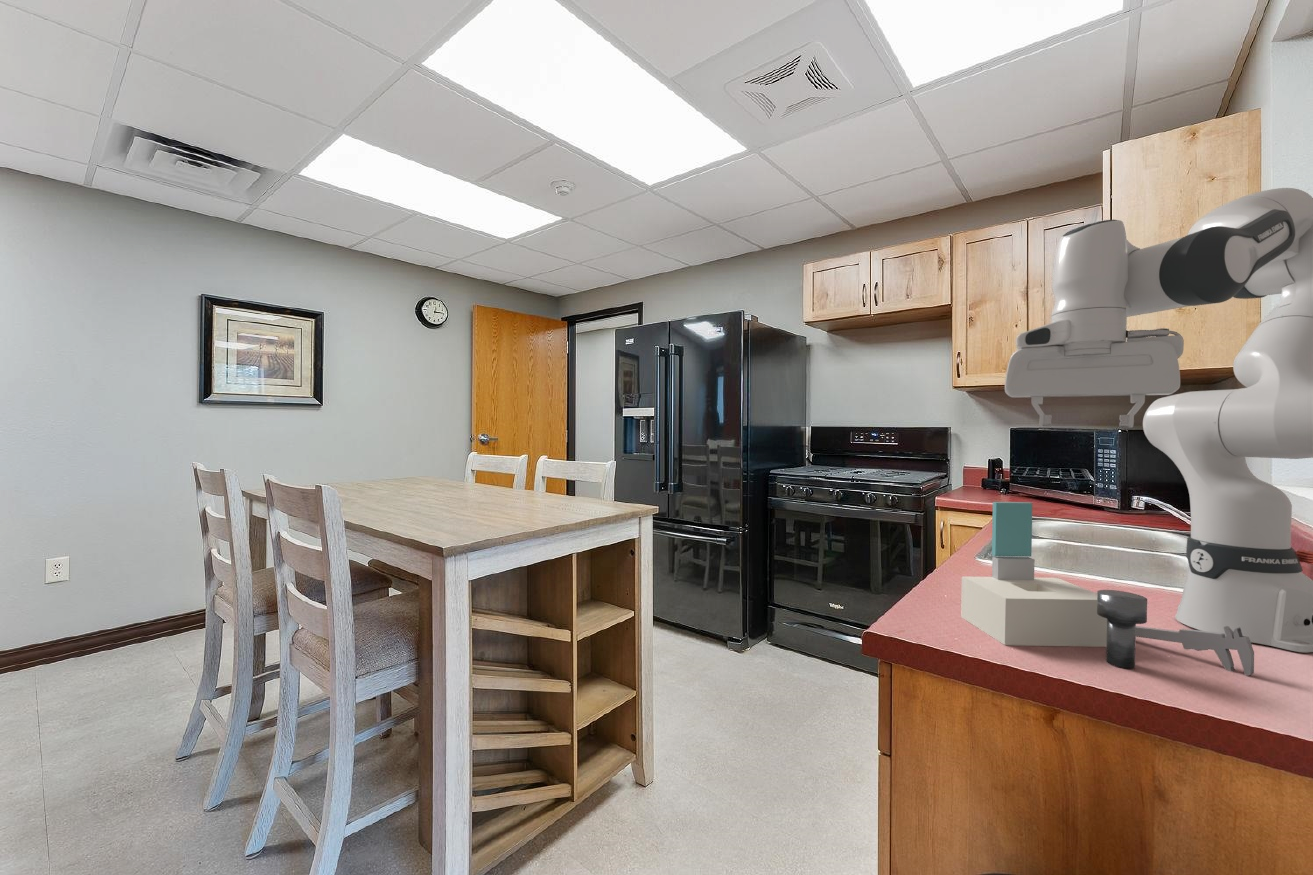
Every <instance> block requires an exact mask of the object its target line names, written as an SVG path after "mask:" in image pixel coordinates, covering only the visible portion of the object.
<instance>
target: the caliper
mask: <svg viewBox="0 0 1313 875" xmlns="http://www.w3.org/2000/svg"><path fill="white" fill-rule="evenodd" d="M1224 631H1225V634H1226V636H1225V634H1224V633H1218V632H1209V631H1201V630H1198V629H1188V628H1180V629H1179V630H1173V629H1172V630H1171V629H1170V630H1169V629H1162V628H1157V627H1155V628H1154V627H1148V626H1141V625H1140V626H1138V625H1136V636H1135V638H1142V639H1150V640H1157V641H1164V642H1173V643H1178V644H1182V645H1181V646H1182V648H1183V649H1184V650H1194V651H1197V652H1199V651H1200V652H1202V651H1208V650H1212V651H1214V653H1215V654H1216V656H1217V657H1218V660H1220V662H1221V664H1222V666H1223V667H1224V669H1225V670H1226V671H1229V672H1232V673H1233V672H1234V671H1236V670H1235V663H1234V660H1233V656H1232V653H1231V651H1230V650H1232V651H1237V653H1238V656H1239V659H1240V660H1239V661H1240V663H1241V666H1242V669H1243V672H1244V676H1245V677H1246V676H1250V675H1254V673H1255V650H1254V648H1253V645H1252V642H1250V639H1249V637H1246V636H1243V635H1242V632H1241V628H1240V627H1239V628H1236V629H1235V630H1234V632H1233V631H1232V630H1231V628H1230V627H1229V626H1225V627H1224Z"/></svg>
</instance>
